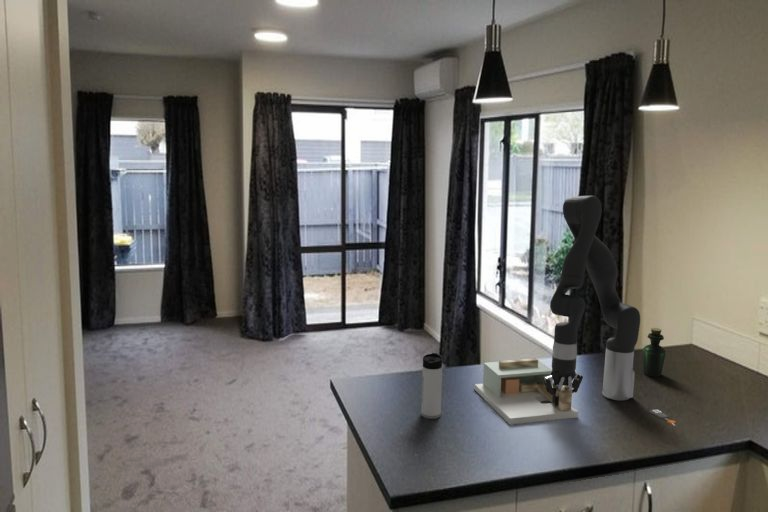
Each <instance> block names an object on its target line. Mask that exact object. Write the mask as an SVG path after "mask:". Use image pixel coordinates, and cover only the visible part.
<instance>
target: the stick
mask: <svg viewBox="0 0 768 512" xmlns="http://www.w3.org/2000/svg"><path fill="white" fill-rule="evenodd" d="M538 360H539V359H538V358H536V357H534V358H522V359H521V358H520V359H519V358H517V359H509V360H508V359H507V360H505V359H504V360H498V362H499V367H500V368H501V369H506V368H519V367H531V366H538Z"/></svg>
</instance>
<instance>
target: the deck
mask: <svg viewBox="0 0 768 512" xmlns="http://www.w3.org/2000/svg"><path fill="white" fill-rule="evenodd" d="M551 372H552V368H550V367H549V366H547V365H546V364H545V363H543V362H541V361H540V360H539V359H538V366H531V367H519V368H506V369H501V368H500V367H499V361H490V362H484V363H483V375H482V376H483V377H482V378H483V379H482V383H474V389H473V390H474V391H476V393H477V394H479V395H480V397H482V399H484V401H485V402H486V403H488V405H489V406H490V407H491V408H492V409H494V410H495V411H496V412H497V414H499V416H501V418H503V419H504V421H506V422H507V424H508V425H517V424H526V423H528V424H529V423H536V422H538V423H539V422H546V421H547V420H548V421H557V420H564V419H575V418H579V411H578V409H576V408H575V407H573V406H572V405H571V410H564V411H561V410H560V409H559V408H557V407H556V406H554V404H552V403H551V402H552V401H550V400H549V399H548V398H547V397H545V396H544V395H543V394H541V393H540V392H539V391H528V392H521V391H520V390H519V393H512V394H505V393H504V392H503V391H501V378H506V377H517V378H519V384H525V383H535V382H541V383H542V384H544V381H543V377H544V376H545V377H548V376H550V375H551ZM544 385H545V384H544ZM551 385H552V387H553V379H552V383H551ZM542 402H546V403H542ZM547 402H549V403H547ZM556 419H557V420H556Z"/></svg>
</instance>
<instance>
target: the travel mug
mask: <svg viewBox="0 0 768 512" xmlns="http://www.w3.org/2000/svg"><path fill="white" fill-rule="evenodd" d="M421 372H422V373H421V376H422V378H421V379H422V381H421V416H422V417H423V418H425V419H430V420H436V419H439V418H440V417H441V416H442V414H441V413H442V412H441V410H442V387H443V386H442V383H443V357H442V356H441V355H440V354H438V352H432V353H428V354H425V355H424V356H423V357H422V371H421Z"/></svg>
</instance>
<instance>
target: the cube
mask: <svg viewBox="0 0 768 512" xmlns="http://www.w3.org/2000/svg"><path fill="white" fill-rule="evenodd" d="M501 391H503V392H504V393H505V394H512V393H519V378H517V377H506V378H501Z"/></svg>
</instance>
